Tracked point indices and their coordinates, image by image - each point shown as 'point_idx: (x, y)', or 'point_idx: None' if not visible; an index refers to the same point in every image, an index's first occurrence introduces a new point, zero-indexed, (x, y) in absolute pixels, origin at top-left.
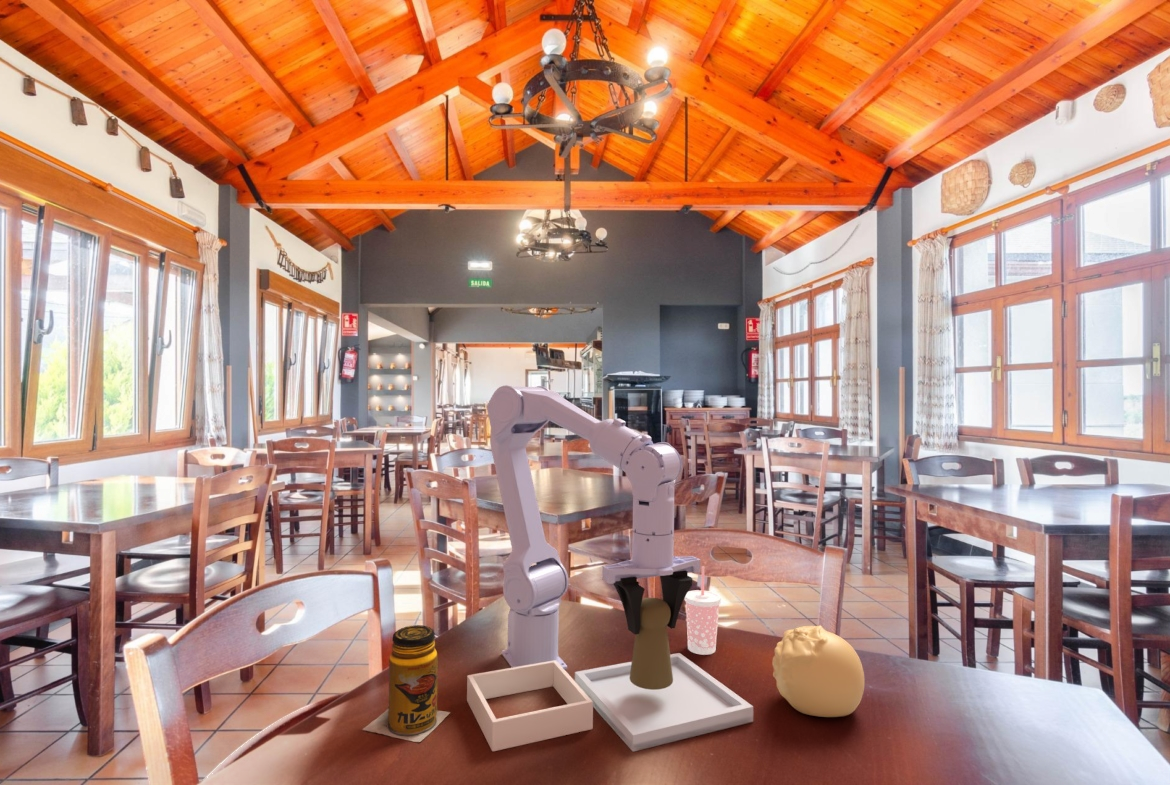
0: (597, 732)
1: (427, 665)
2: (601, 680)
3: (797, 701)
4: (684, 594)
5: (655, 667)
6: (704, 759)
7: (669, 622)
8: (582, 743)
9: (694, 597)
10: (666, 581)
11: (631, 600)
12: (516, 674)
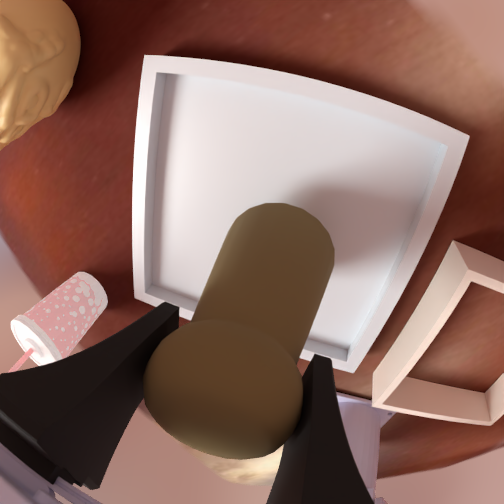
0: (455, 225)
1: None
2: (317, 335)
3: (74, 33)
4: (57, 368)
5: (297, 245)
6: (356, 13)
7: (170, 327)
8: (497, 219)
9: (46, 356)
10: (93, 459)
11: (365, 490)
12: (438, 407)
